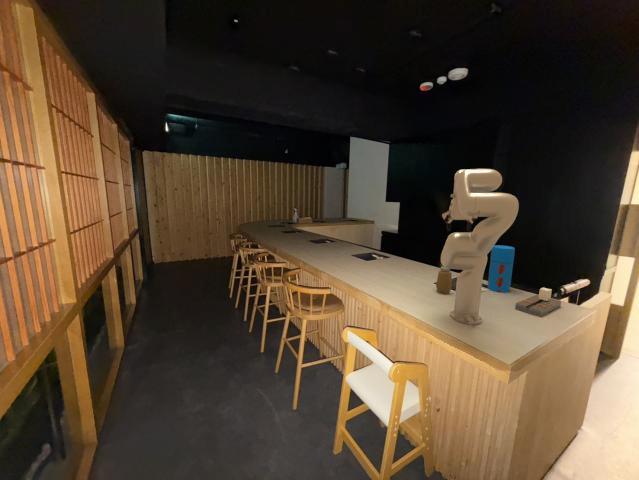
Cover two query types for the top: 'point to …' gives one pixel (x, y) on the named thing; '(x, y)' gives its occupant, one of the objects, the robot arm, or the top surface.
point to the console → (537, 306)
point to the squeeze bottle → (444, 281)
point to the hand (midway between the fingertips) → (458, 231)
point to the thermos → (501, 268)
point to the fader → (545, 294)
